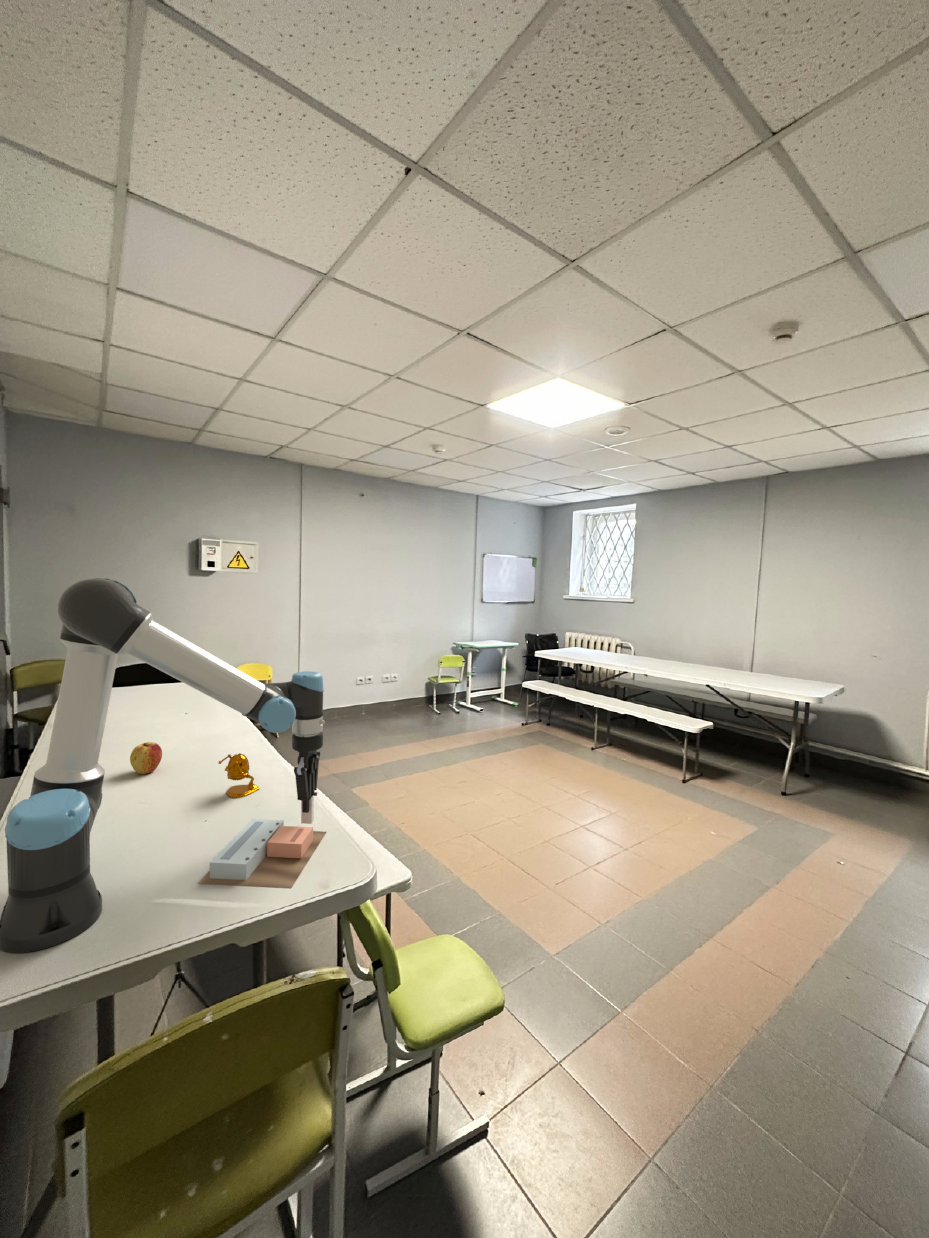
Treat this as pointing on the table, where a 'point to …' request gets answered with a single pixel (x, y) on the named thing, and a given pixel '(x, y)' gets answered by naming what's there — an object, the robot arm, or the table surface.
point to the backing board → (273, 870)
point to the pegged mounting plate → (244, 850)
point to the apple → (146, 757)
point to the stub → (290, 842)
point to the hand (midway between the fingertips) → (307, 822)
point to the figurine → (239, 776)
